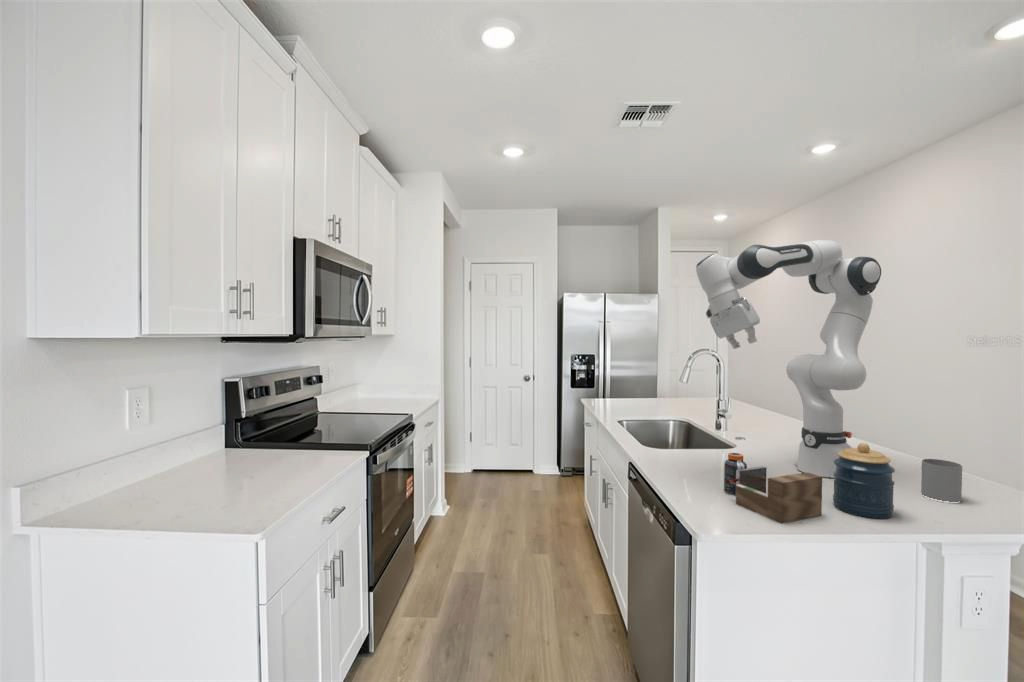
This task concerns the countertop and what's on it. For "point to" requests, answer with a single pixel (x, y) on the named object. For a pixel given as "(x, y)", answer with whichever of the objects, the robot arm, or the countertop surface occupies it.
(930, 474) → the cup
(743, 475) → the brushed metal plate
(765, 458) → the countertop surface
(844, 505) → the canister
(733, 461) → the pill bottle
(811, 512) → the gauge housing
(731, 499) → the countertop surface
